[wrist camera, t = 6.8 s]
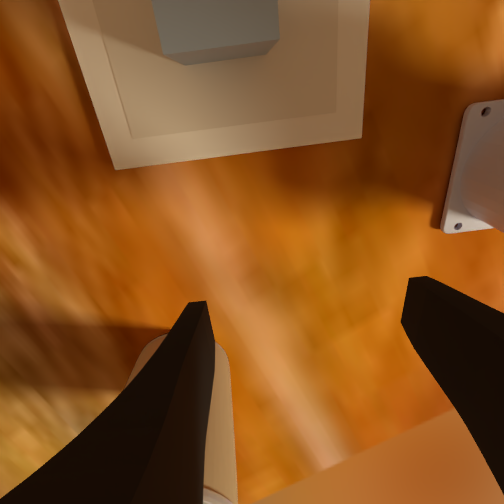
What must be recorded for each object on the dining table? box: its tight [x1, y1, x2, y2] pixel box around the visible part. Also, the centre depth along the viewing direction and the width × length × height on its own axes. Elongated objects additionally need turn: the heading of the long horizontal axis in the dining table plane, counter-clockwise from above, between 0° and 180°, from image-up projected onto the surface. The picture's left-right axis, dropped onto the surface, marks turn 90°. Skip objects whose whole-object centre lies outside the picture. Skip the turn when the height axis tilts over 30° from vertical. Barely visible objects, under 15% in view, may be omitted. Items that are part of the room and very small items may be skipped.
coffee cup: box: [124, 334, 238, 504], centre depth 20 cm, size 9×9×12 cm
